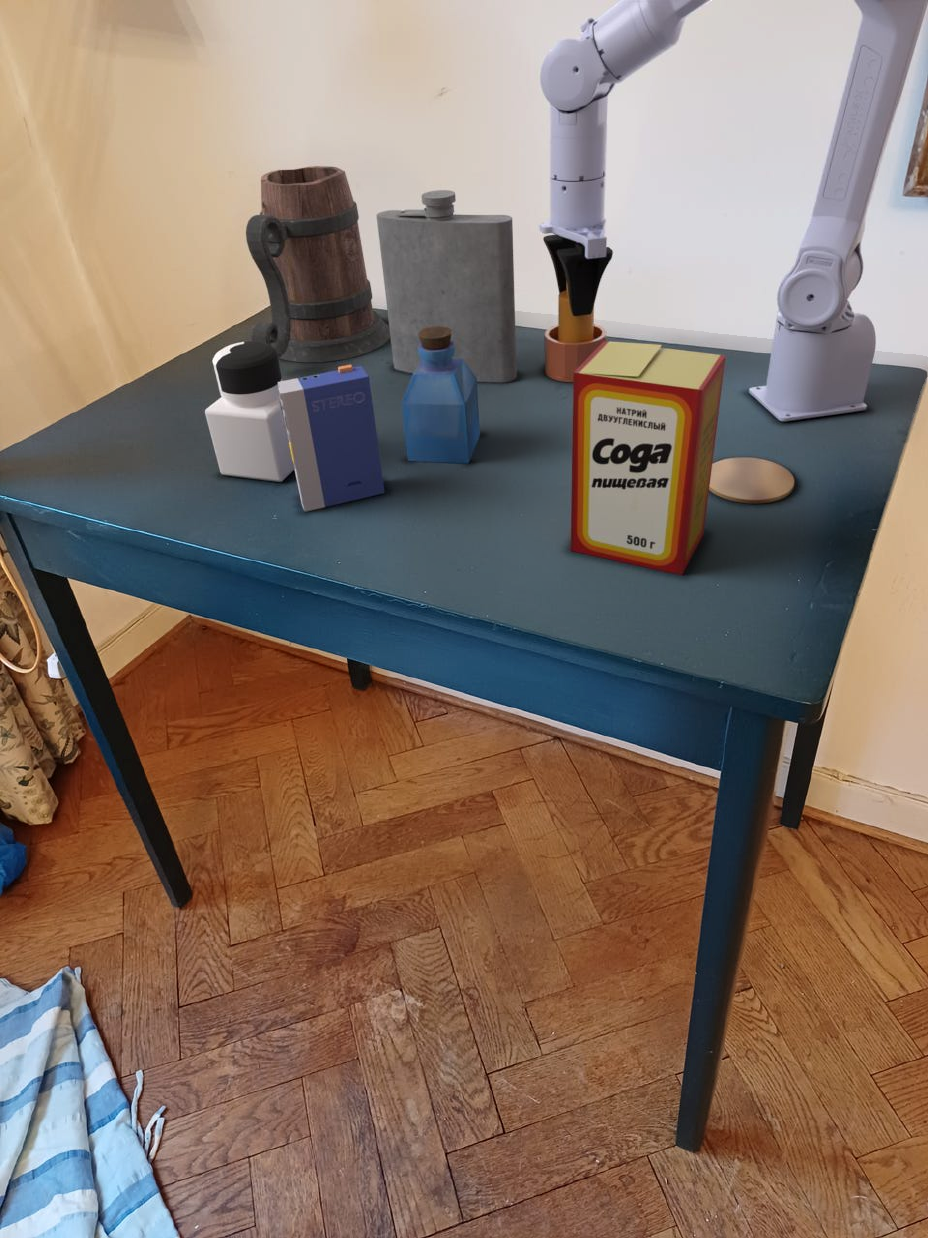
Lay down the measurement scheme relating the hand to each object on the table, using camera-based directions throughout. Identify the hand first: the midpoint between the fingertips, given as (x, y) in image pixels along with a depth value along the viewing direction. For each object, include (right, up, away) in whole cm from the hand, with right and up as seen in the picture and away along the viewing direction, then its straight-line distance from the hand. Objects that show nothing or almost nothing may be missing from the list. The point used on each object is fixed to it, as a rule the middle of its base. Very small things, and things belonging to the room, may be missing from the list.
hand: (576, 307), depth 100 cm
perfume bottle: (-15, -18, -9) cm, 25 cm away
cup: (0, -6, +5) cm, 7 cm away
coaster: (+14, -22, -18) cm, 32 cm away
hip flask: (-14, -6, +6) cm, 16 cm away
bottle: (0, -4, +3) cm, 4 cm away
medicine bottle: (-33, -19, -9) cm, 39 cm away
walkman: (-24, -24, -15) cm, 37 cm away
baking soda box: (+2, -29, -25) cm, 38 cm away
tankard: (-32, 0, +16) cm, 36 cm away
